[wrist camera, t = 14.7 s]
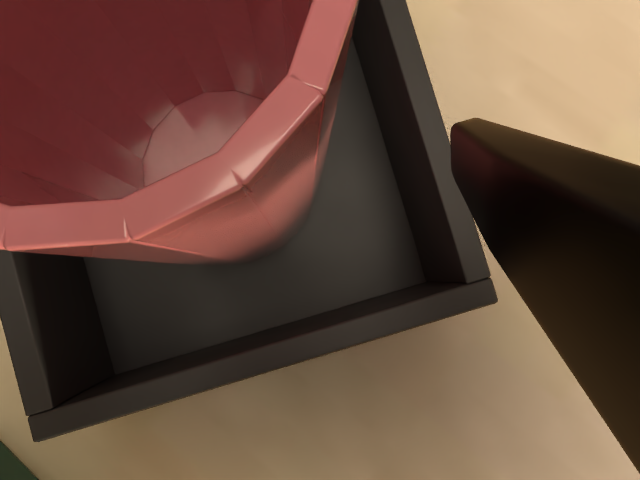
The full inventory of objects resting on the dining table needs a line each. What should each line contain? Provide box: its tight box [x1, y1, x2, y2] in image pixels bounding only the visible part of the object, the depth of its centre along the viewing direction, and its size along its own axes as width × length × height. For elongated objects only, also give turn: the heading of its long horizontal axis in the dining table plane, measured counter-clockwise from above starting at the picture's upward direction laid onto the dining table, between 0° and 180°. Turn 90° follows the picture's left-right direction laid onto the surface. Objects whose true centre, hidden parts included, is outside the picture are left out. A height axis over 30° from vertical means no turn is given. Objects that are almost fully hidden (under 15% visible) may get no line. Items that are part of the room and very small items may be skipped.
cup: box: [0, 0, 359, 266], centre depth 12 cm, size 6×6×13 cm
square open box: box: [0, 0, 498, 442], centre depth 17 cm, size 12×12×5 cm
